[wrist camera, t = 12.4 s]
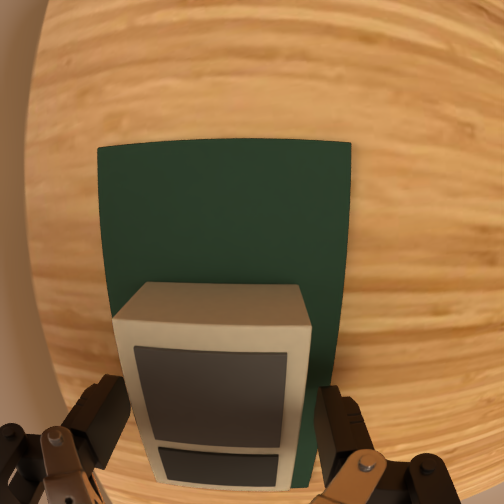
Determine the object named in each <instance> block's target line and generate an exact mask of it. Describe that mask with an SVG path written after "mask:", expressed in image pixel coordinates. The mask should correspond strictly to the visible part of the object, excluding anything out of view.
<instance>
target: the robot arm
mask: <svg viewBox="0 0 504 504" xmlns="http://www.w3.org/2000/svg"><path fill="white" fill-rule="evenodd" d="M130 412H131V404H130V400H129V396H128V393H127V389H126V385H125V381H124V378H123V377H121V376H115V375H109V374H105V375H104V376H103V377H102V379H101V380H100V382H99V383H98V384H95V383H94V384H93V385H91V386H90V387H88V388H87V389H85V391H84V392H83V394H82V395H81V397H80V399H78V401H77V402H76V405H74V407H73V408H72V410H71V411H70V412H69V414H68V415H67V417H66V419H65V420H64V421H63V423H62V424H61V426H53V427H50V428H48V429H46V430H45V431H44V432H43V433H42V435H35V434H25V432H24V430H23V428H22V427H21V426H20V425H18V424H15V423H8V424H5V425H3V426H1V427H0V504H38V502H39V500H40V498H41V496H42V494H43V492H44V490H45V491H46V495H47V500H48V503H49V504H105V502H104V500H103V498H102V495H101V493H100V490H99V488H98V485H97V483H96V480H95V478H94V475H93V473H92V472H93V470H94V468H99V469H102V470H105V468H106V465H107V463H108V461H109V459H110V457H111V455H112V452H113V450H114V448H115V446H116V444H117V442H118V439H119V437H120V435H121V433H122V431H123V429H124V427H125V425H126V423H127V420H128V418H129V416H130ZM314 430H315V435H316V441H317V446H318V452H319V457H320V463H321V468H322V474H323V480H324V486H325V488H326V489H325V490H324V492H323V493H322V494H321V495H320V494H318V495H317V496H316V497H315V498H314V499H313V500H312V501H311V503H310V504H461V502H460V499H459V497H458V494H457V492H456V489H455V487H454V485H453V482H452V480H451V477H450V475H449V473H448V470H447V468H446V466H445V463H444V462H443V460H442V459H441V458H440V457H438V456H437V455H434V454H430V453H423V454H419V455H417V456H415V457H414V458H413V459H412V460H411V462H396V461H390V460H387V459H385V457H384V456H383V455H382V454H381V453H379V452H378V451H375V449H374V447H373V444H372V441H371V438H370V436H369V433H368V430H367V427H366V425H365V422H364V419H363V417H362V415H361V411H360V408H359V406H358V404H357V403H356V402H355V401H354V400H353V399H352V398H351V397H341V394H340V391H339V388H338V386H337V385H335V386H319V387H318V391H317V397H316V404H315V410H314ZM15 467H16V469H17V472H16V473H15V475H14V477H13V478H12V480H11V482H10V484H9V486H8V480H9V478H10V476H11V474H12V473H13V471H14V469H15Z"/></svg>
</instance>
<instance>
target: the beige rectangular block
mask: <svg viewBox="0 0 504 504" xmlns="http://www.w3.org/2000/svg"><path fill="white" fill-rule="evenodd" d="M112 324H113V329H114V334H115V339H116V344H117V349H118V354H119V358H120V363H121V367H122V371H123V375H124V379H125V383H126V387H127V391H128V395H129V399H130V402H131V406H132V409H133V413H134V416H135V420H136V423H137V426H138V429H139V433H140V436H141V439H142V442H143V445H144V448H145V451H146V454H147V457H148V459H149V462H150V465H151V468H152V470H153V473H154V476H155V478H156V481H157V482H159V483H165V484H172V485H179V486H187V487H195V488H205V489H217V490H234V491H289V490H290V486H291V481H292V475H293V470H294V464H295V458H296V451H297V445H298V439H299V432H300V425H301V418H302V411H303V403H304V396H305V388H306V380H307V371H308V362H309V353H310V343H311V333H312V326H311V322H310V319H309V316H308V313H307V310H306V307H305V304H304V300H303V297H302V294H301V291H300V288H299V285H297V284H211V283H173V282H146V283H145V284H144V285H143V286H142V287H141V288H140V289H139V290H138V291H137V292H136V293H135V294H134V295H133V297H132V298H131V299H130V300H129V301H128V302H127V303H126V304H125V305H124V306H123V307H122V308H121V309H120V311H119V312H118V313H117V314H116V315H115V316H114V317H113V318H112Z"/></svg>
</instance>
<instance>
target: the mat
mask: <svg viewBox="0 0 504 504" xmlns="http://www.w3.org/2000/svg"><path fill="white" fill-rule="evenodd" d="M97 159H98V196H99V214H100V227H101V239H102V249H103V258H104V267H105V275H106V282H107V289H108V296H109V302H110V308H111V314H112V318H113V317H114V316H115V315H116V314H117V313H118V312H119V311H120V309H121V308H122V307H123V306H124V305H125V304H126V303H127V302H128V301H129V300H130V299H131V298H132V297H133V295H134V294H135V293H136V292H137V291H138V290H139V289H140V288H141V287H142V286H143V285H144V284H145V283H146V282H173V283H211V284H297V285H299V288H300V291H301V294H302V297H303V300H304V304H305V307H306V310H307V313H308V316H309V319H310V322H311V326H312V333H311V343H310V353H309V362H308V371H307V380H306V388H305V396H304V403H303V411H302V418H301V425H300V432H299V439H298V445H297V451H296V458H295V464H294V470H293V475H292V481H291V486H290V488H307V487H308V486H309V482H310V478H311V474H312V470H313V466H314V462H315V457H316V453H317V449H318V446H317V441H316V435H315V430H314V410H315V404H316V397H317V391H318V387H319V386H330V383H331V377H332V371H333V365H334V359H335V352H336V345H337V338H338V331H339V323H340V315H341V307H342V298H343V288H344V278H345V268H346V256H347V243H348V228H349V211H350V187H351V143H349V142H336V141H321V140H301V139H265V138H232V139H196V140H177V141H161V142H148V143H137V144H127V145H117V146H108V147H100V148H98V149H97Z"/></svg>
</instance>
